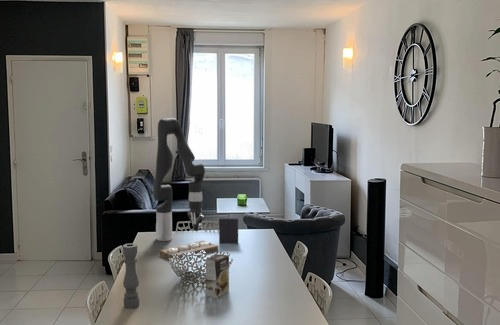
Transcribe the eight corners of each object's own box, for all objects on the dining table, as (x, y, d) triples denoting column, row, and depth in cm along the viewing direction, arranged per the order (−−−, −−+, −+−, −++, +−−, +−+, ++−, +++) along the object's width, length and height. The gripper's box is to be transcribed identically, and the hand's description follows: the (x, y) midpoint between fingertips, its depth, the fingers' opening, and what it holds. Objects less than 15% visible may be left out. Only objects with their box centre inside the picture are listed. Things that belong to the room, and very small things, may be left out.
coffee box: (217, 298, 205) (217, 261, 203) (205, 295, 209) (204, 258, 207) (229, 291, 213) (229, 255, 211) (217, 288, 216) (217, 253, 214)
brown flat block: (159, 255, 264) (159, 250, 264) (202, 245, 283) (202, 240, 283) (174, 261, 254) (174, 256, 253) (218, 250, 273) (218, 245, 273)
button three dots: (188, 248, 271) (188, 243, 271) (195, 246, 274) (195, 242, 274) (193, 250, 267) (193, 245, 267) (200, 248, 271) (200, 244, 270)
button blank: (177, 251, 266) (177, 246, 266) (185, 249, 269) (185, 244, 269) (183, 253, 263) (182, 248, 262) (190, 251, 266) (190, 246, 266)
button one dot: (198, 247, 276) (198, 243, 275) (205, 246, 279) (205, 241, 279) (203, 249, 272) (203, 244, 272) (210, 247, 275) (210, 243, 275)
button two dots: (167, 253, 261) (166, 248, 261) (174, 251, 265) (174, 247, 264) (172, 255, 258) (171, 250, 258) (179, 253, 261) (179, 249, 261)
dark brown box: (238, 242, 290) (238, 217, 289) (237, 244, 286) (237, 219, 284) (220, 241, 291) (220, 217, 290) (219, 243, 287) (218, 218, 285)
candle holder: (125, 302, 200) (123, 243, 197) (140, 302, 201) (139, 243, 198) (122, 309, 194) (120, 247, 191) (138, 308, 195) (136, 247, 192)
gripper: (182, 198, 270) (183, 229, 272) (197, 202, 261) (198, 234, 263) (193, 197, 275) (193, 227, 277) (208, 200, 266) (208, 231, 268)
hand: (195, 230), depth 270 cm, fingers closed
